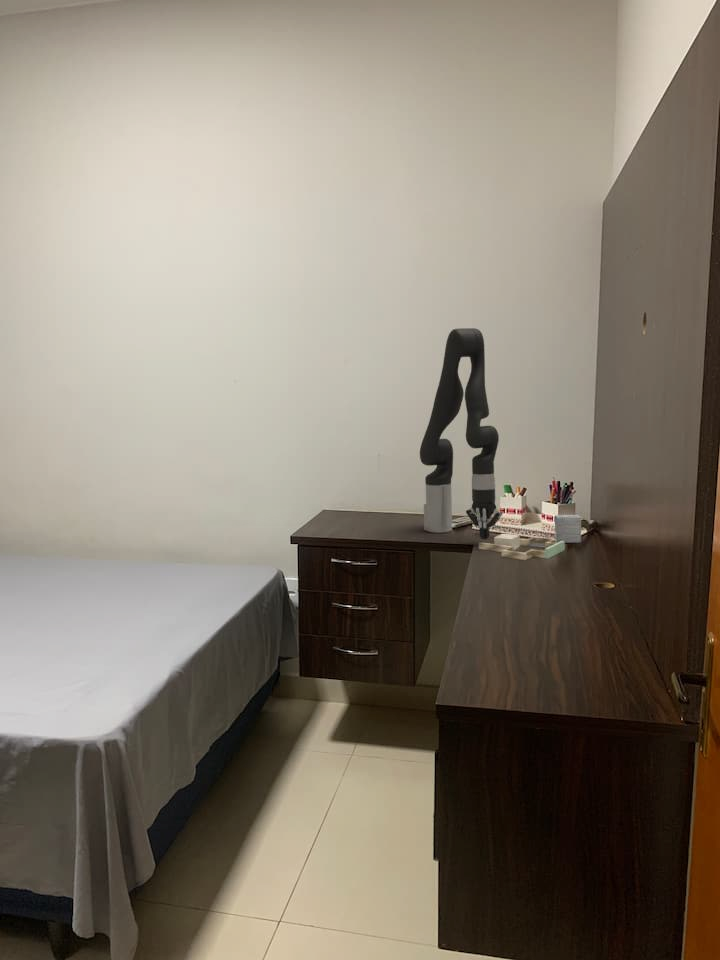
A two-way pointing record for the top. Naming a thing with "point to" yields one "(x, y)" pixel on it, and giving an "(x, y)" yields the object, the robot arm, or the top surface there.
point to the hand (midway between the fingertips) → (484, 538)
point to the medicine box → (568, 528)
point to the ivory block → (507, 540)
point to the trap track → (539, 542)
